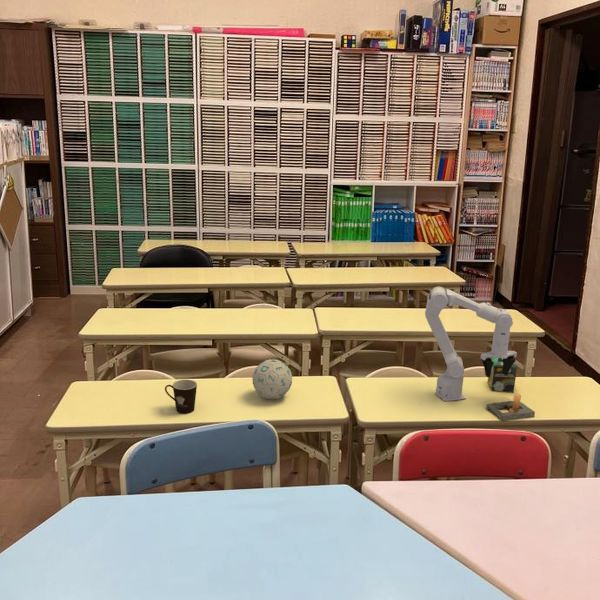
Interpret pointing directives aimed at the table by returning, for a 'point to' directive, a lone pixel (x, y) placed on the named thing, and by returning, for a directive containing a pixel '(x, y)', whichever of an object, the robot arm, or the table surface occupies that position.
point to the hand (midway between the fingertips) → (496, 375)
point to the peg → (515, 402)
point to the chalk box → (502, 377)
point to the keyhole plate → (517, 414)
